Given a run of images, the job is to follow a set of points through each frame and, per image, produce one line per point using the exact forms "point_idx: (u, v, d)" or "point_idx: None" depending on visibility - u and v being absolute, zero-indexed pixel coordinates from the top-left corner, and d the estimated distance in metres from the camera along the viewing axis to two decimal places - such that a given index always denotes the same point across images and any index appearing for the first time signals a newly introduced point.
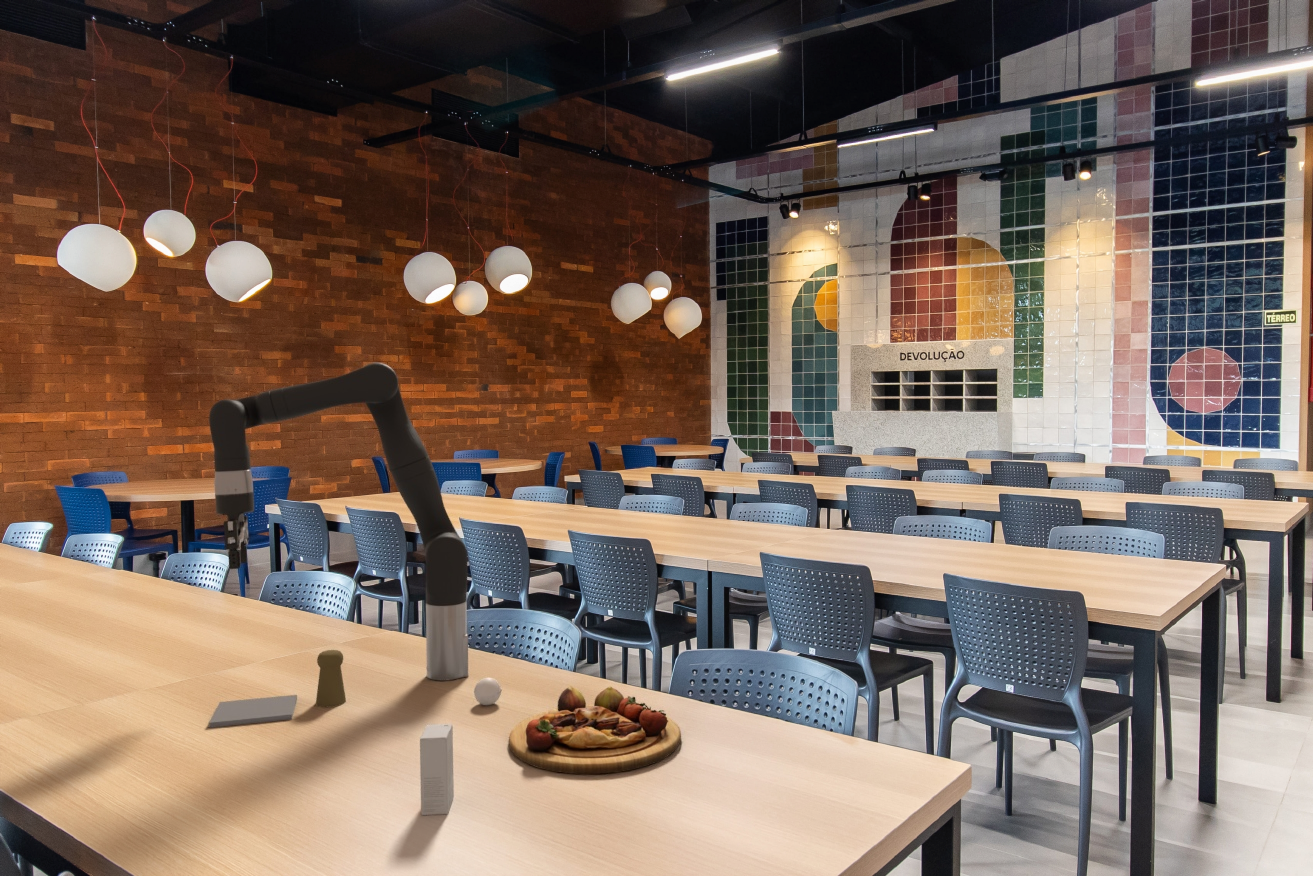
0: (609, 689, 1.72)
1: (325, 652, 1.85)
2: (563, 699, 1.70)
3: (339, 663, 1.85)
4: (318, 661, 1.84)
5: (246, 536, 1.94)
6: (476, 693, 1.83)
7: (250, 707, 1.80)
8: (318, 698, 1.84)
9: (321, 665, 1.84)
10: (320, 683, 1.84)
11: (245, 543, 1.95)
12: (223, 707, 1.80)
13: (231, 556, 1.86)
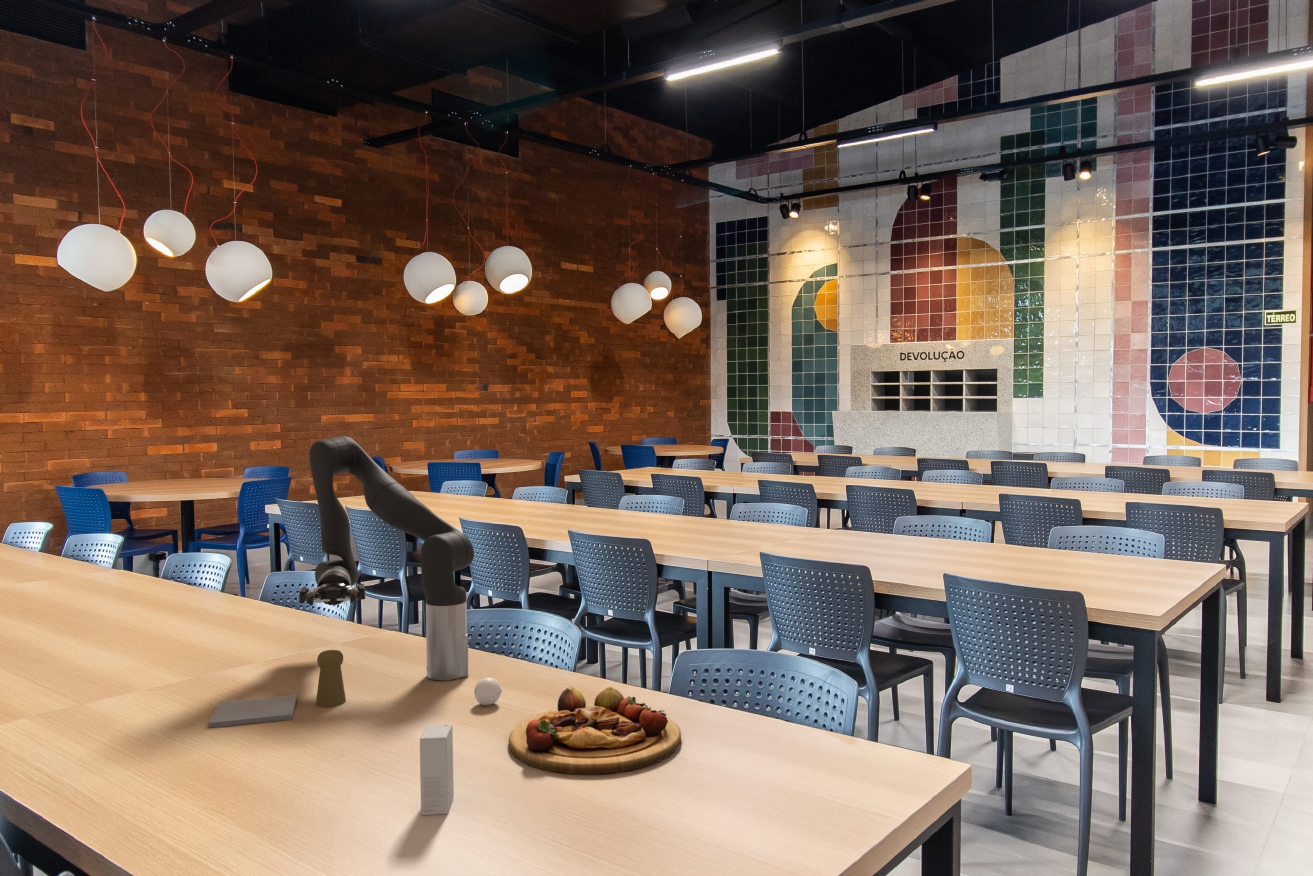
0: (609, 689, 1.72)
1: (325, 652, 1.85)
2: (563, 699, 1.70)
3: (339, 663, 1.85)
4: (318, 661, 1.84)
5: (345, 587, 2.03)
6: (476, 693, 1.83)
7: (250, 707, 1.80)
8: (318, 698, 1.84)
9: (321, 665, 1.84)
10: (320, 683, 1.84)
11: (351, 590, 2.02)
12: (223, 707, 1.80)
13: None
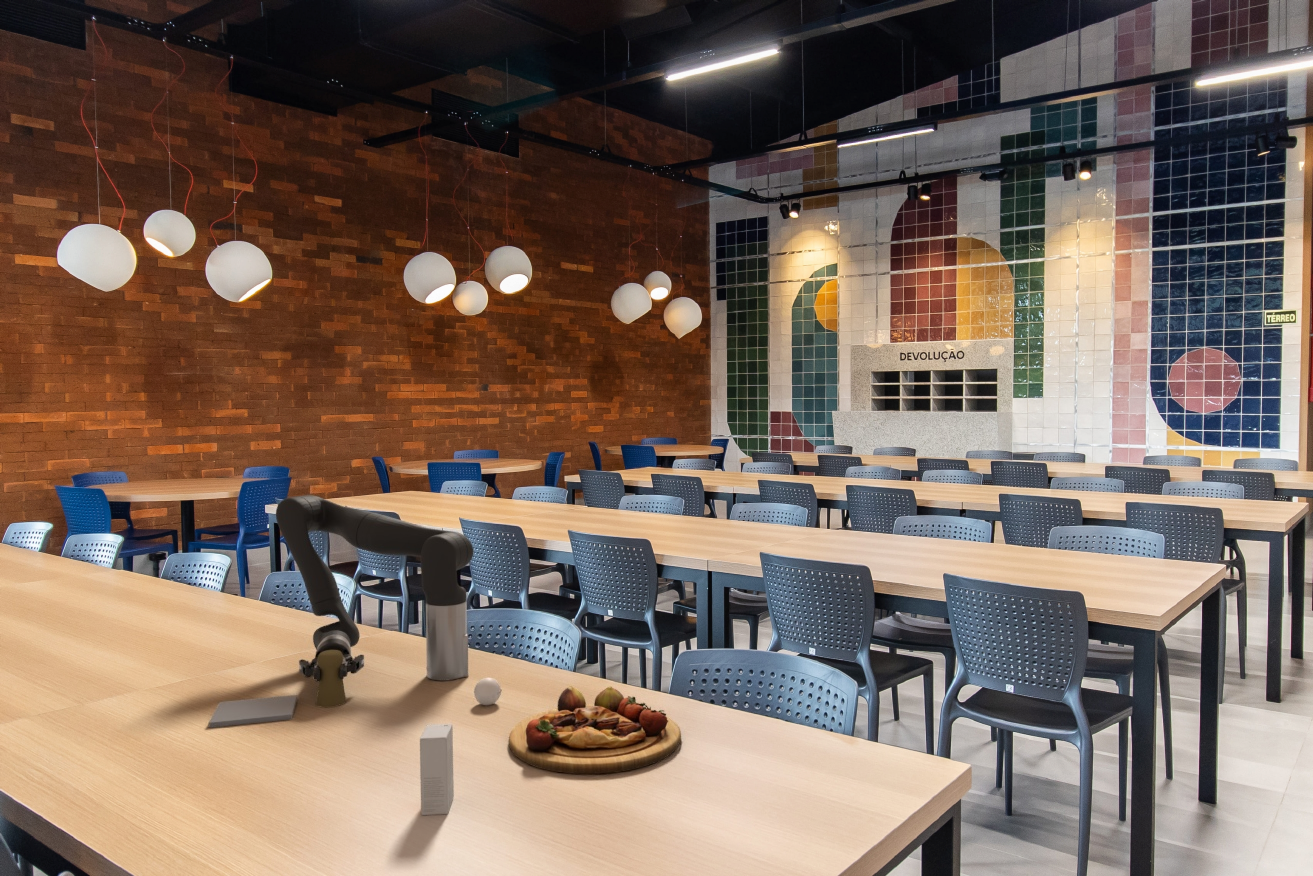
0: (609, 689, 1.72)
1: (325, 652, 1.85)
2: (563, 699, 1.70)
3: (339, 663, 1.85)
4: (318, 661, 1.84)
5: None
6: (476, 693, 1.83)
7: (250, 707, 1.80)
8: (318, 698, 1.84)
9: (321, 665, 1.84)
10: (320, 683, 1.84)
11: (341, 664, 1.88)
12: (223, 707, 1.80)
13: None
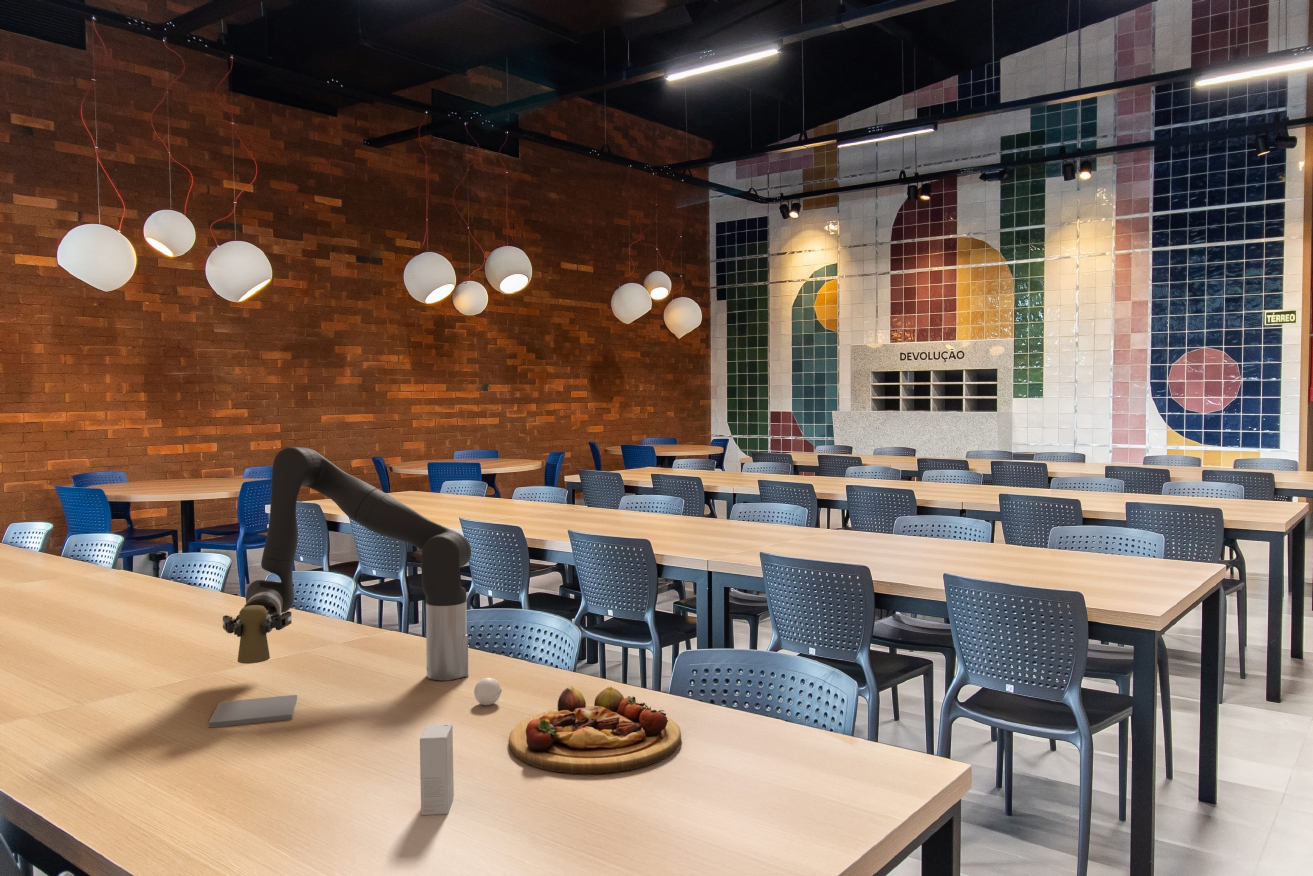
0: (609, 689, 1.72)
1: (247, 607, 1.79)
2: (563, 699, 1.70)
3: (262, 618, 1.79)
4: (240, 616, 1.78)
5: None
6: (476, 693, 1.83)
7: (250, 707, 1.80)
8: (240, 654, 1.78)
9: (243, 620, 1.77)
10: (242, 639, 1.78)
11: (265, 620, 1.82)
12: (223, 707, 1.80)
13: None
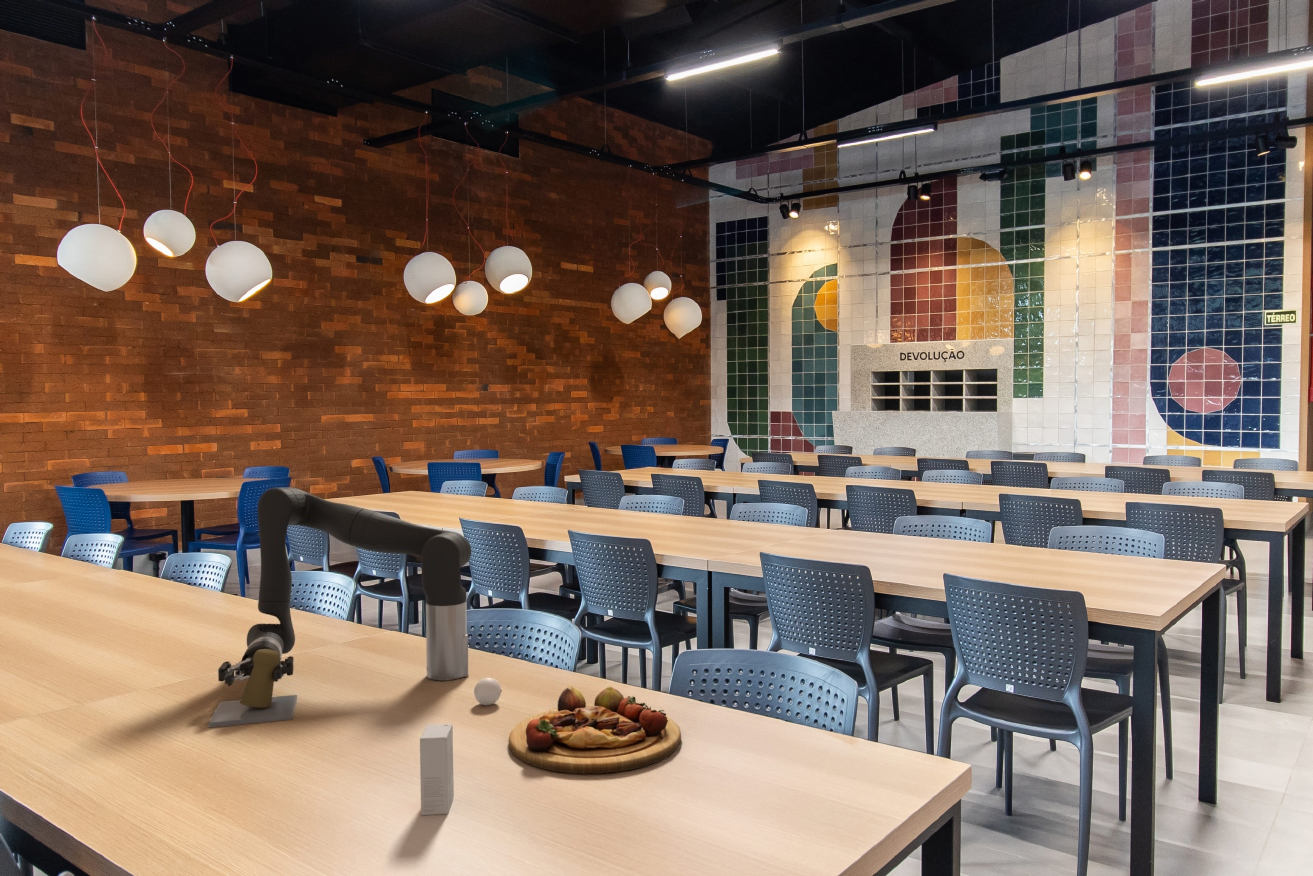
0: (609, 689, 1.72)
1: (263, 650, 1.81)
2: (563, 699, 1.70)
3: (274, 664, 1.81)
4: (254, 657, 1.80)
5: None
6: (476, 693, 1.83)
7: (250, 707, 1.80)
8: (244, 695, 1.78)
9: (256, 661, 1.79)
10: (250, 680, 1.79)
11: (276, 666, 1.83)
12: (223, 707, 1.80)
13: None
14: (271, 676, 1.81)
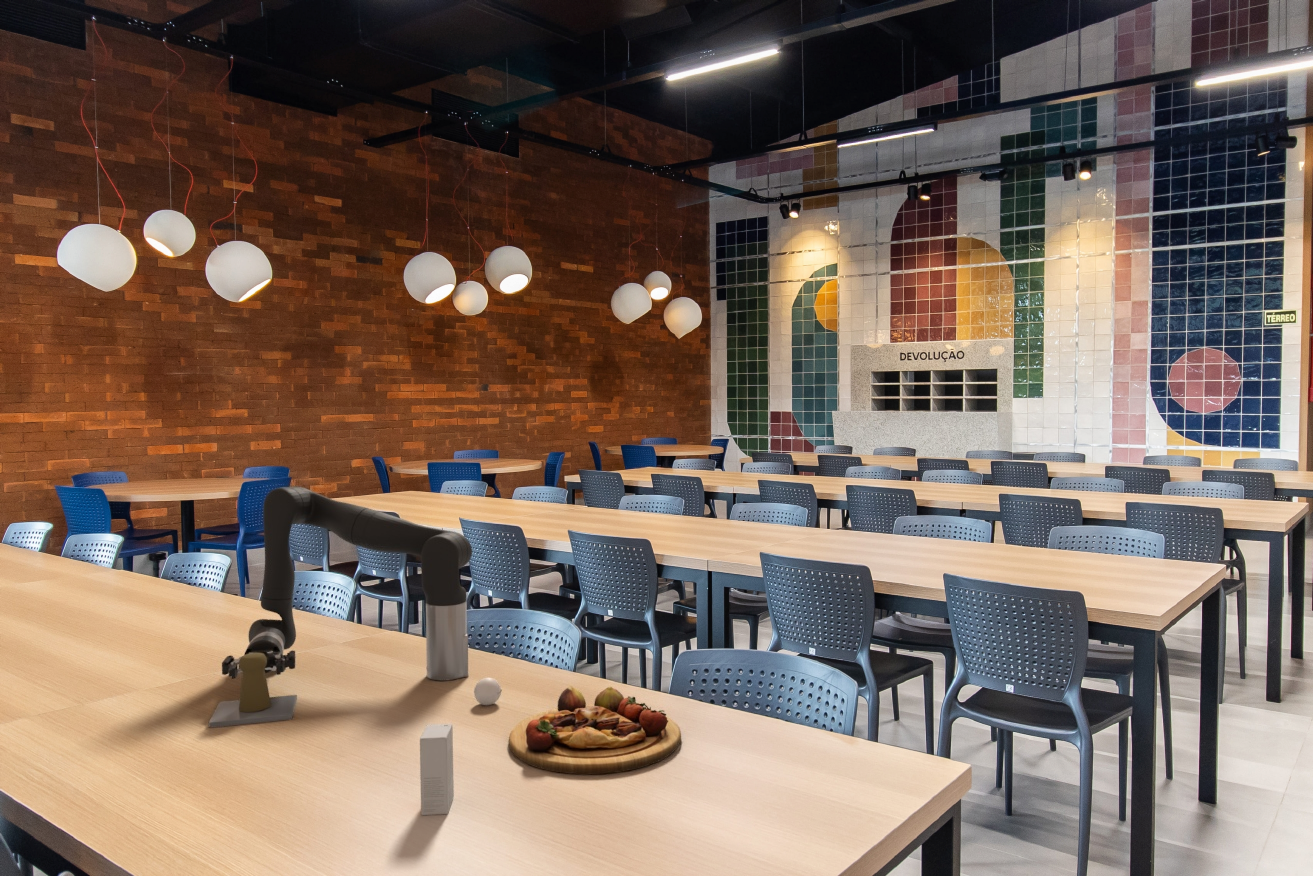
0: (609, 689, 1.72)
1: (247, 655, 1.79)
2: (563, 699, 1.70)
3: (261, 666, 1.79)
4: (239, 664, 1.78)
5: (273, 656, 1.89)
6: (476, 693, 1.83)
7: None
8: (240, 703, 1.78)
9: (242, 668, 1.78)
10: (242, 687, 1.78)
11: (279, 660, 1.87)
12: (223, 707, 1.80)
13: None
14: (262, 678, 1.79)
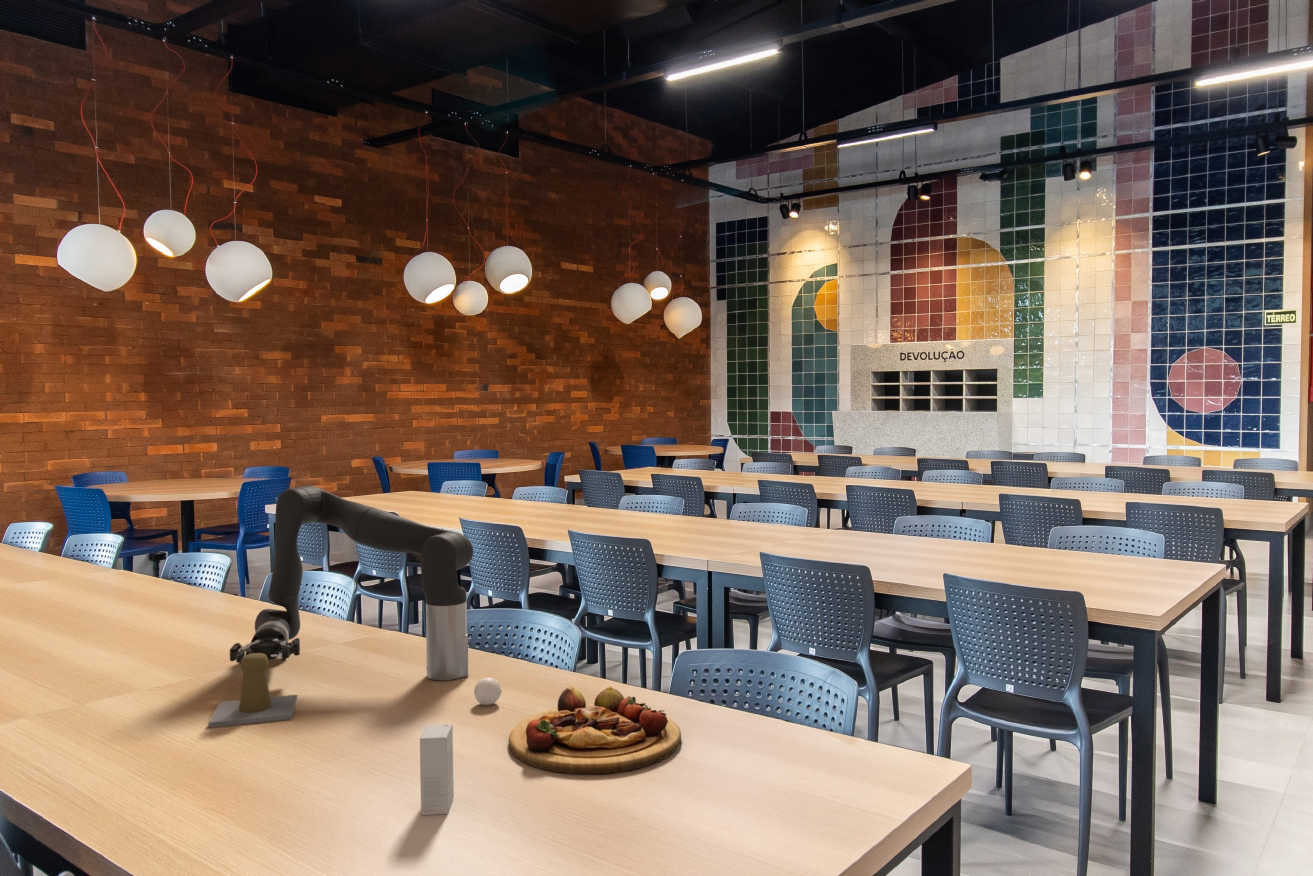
0: (609, 689, 1.72)
1: (249, 655, 1.79)
2: (563, 699, 1.70)
3: (263, 667, 1.79)
4: (241, 665, 1.78)
5: (278, 643, 1.97)
6: (476, 693, 1.83)
7: None
8: (241, 703, 1.78)
9: (244, 669, 1.78)
10: (243, 687, 1.78)
11: (284, 646, 1.96)
12: (223, 707, 1.80)
13: None
14: (263, 679, 1.79)
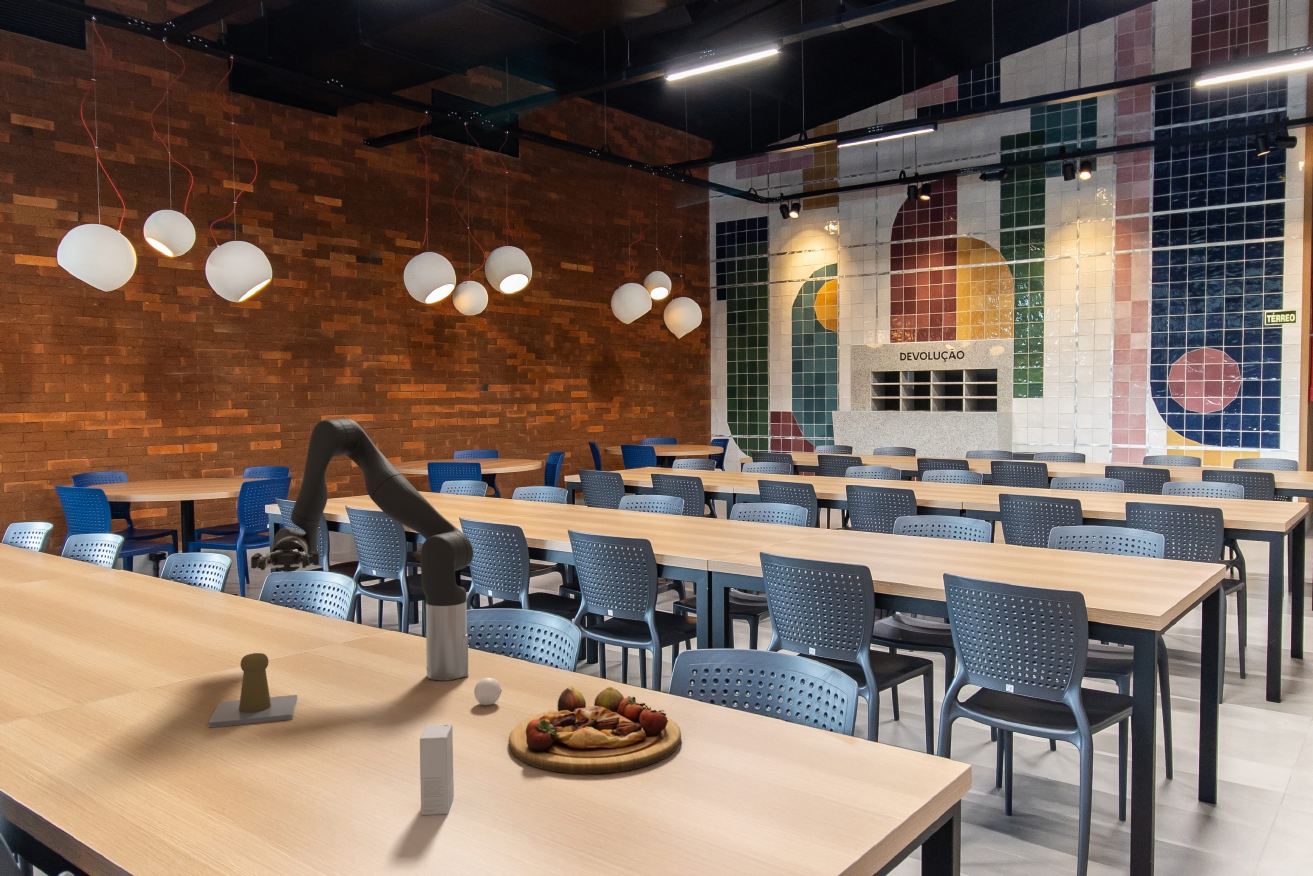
0: (609, 689, 1.72)
1: (249, 655, 1.79)
2: (563, 699, 1.70)
3: (263, 667, 1.79)
4: (241, 665, 1.78)
5: (299, 553, 2.01)
6: (476, 693, 1.83)
7: None
8: (241, 703, 1.78)
9: (244, 669, 1.78)
10: (243, 687, 1.78)
11: (304, 556, 1.99)
12: (223, 707, 1.80)
13: None
14: (263, 679, 1.79)
